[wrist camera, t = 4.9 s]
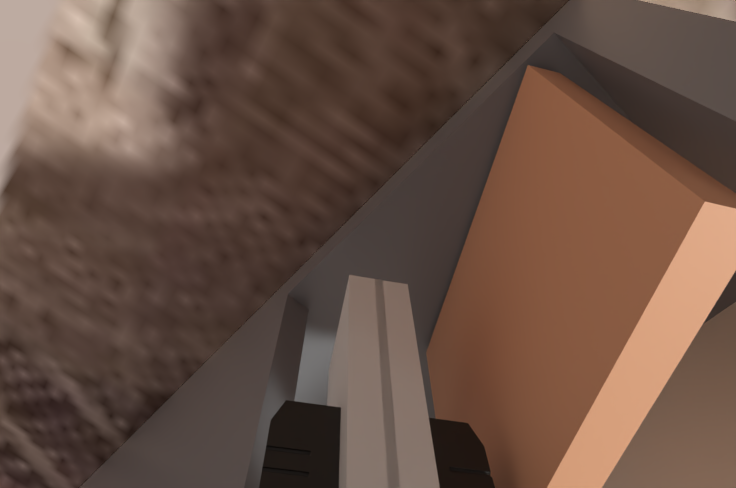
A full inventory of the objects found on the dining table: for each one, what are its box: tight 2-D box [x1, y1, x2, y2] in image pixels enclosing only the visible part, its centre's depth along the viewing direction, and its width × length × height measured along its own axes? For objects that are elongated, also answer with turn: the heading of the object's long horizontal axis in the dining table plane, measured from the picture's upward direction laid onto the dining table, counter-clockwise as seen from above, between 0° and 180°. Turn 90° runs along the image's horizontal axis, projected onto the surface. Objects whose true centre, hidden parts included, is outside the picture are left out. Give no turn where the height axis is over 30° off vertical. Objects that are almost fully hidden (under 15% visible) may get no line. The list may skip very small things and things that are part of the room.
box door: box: [426, 65, 736, 488], centre depth 12 cm, size 9×1×8 cm, turn 167°
